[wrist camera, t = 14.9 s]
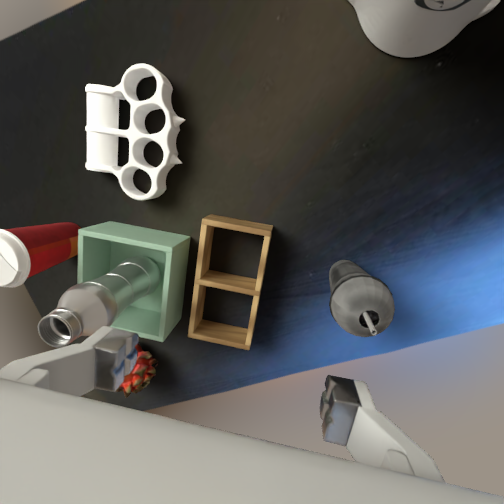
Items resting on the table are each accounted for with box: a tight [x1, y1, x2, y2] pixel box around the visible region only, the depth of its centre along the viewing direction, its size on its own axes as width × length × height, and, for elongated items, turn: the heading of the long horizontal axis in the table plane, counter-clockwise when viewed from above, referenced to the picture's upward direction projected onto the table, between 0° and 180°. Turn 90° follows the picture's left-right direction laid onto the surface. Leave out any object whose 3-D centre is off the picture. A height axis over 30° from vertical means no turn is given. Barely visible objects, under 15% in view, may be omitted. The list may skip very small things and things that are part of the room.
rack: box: [188, 214, 273, 350], centre depth 47 cm, size 19×10×5 cm, turn 171°
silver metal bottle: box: [38, 256, 161, 347], centre depth 40 cm, size 6×7×20 cm
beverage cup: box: [329, 260, 395, 337], centre depth 37 cm, size 7×7×20 cm
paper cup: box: [0, 222, 81, 287], centre depth 44 cm, size 8×8×14 cm
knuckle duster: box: [85, 64, 186, 200], centre depth 44 cm, size 3×18×15 cm
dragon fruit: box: [115, 342, 158, 397], centre depth 52 cm, size 8×8×12 cm
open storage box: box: [78, 221, 191, 342], centre depth 47 cm, size 15×14×8 cm
